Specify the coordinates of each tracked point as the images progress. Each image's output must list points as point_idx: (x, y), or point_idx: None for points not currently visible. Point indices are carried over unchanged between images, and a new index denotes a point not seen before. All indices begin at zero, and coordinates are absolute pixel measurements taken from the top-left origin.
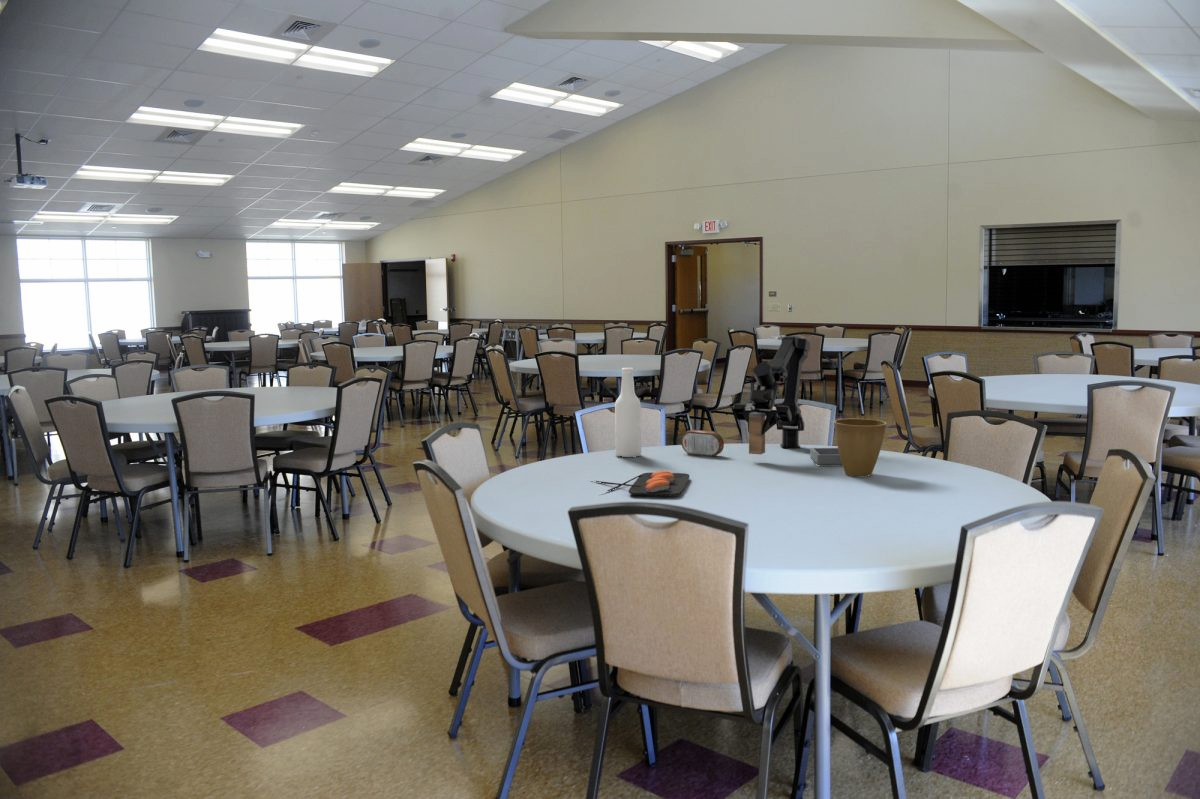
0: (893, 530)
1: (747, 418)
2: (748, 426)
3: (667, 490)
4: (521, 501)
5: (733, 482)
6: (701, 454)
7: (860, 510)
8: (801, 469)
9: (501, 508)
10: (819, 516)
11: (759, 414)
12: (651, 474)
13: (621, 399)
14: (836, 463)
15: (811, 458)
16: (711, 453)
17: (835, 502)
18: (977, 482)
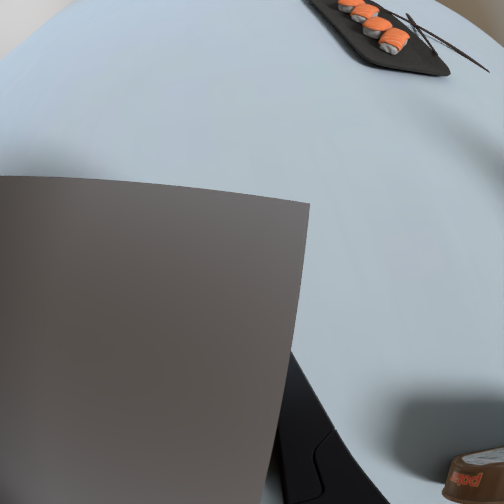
0: (77, 10)
1: (366, 495)
2: (300, 385)
3: (339, 11)
4: (445, 14)
5: (248, 53)
6: (502, 447)
7: (73, 28)
8: None
9: (435, 4)
10: (124, 2)
11: (16, 182)
12: (437, 70)
13: None
14: None
15: None
16: (475, 456)
17: (85, 34)
18: None
